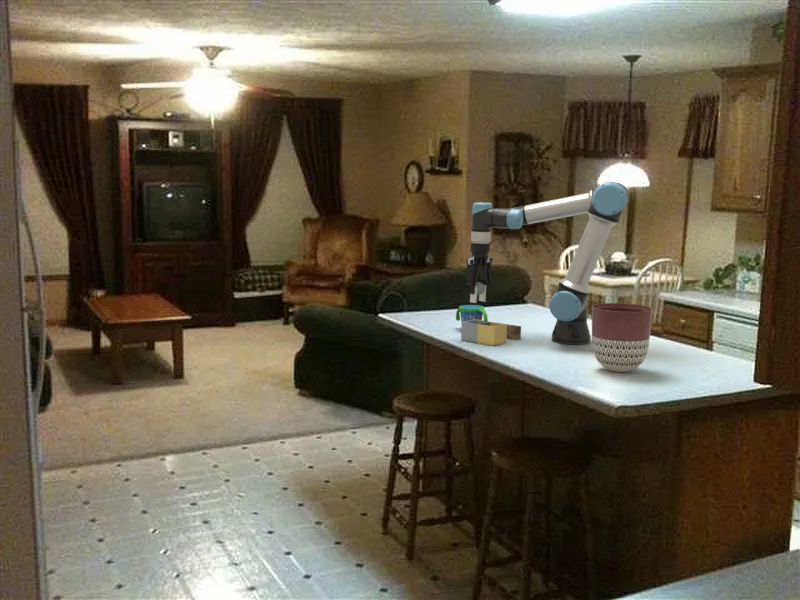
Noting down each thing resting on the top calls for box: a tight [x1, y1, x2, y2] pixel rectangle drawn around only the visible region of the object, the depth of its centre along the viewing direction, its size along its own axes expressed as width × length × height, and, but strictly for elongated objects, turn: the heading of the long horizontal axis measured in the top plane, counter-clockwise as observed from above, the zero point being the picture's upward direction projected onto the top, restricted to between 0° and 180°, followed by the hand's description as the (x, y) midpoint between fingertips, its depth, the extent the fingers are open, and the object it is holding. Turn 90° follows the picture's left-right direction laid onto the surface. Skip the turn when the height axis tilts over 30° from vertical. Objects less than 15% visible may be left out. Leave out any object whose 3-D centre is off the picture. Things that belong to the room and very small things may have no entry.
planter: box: [591, 302, 654, 373], centre depth 274 cm, size 20×20×21 cm
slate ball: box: [476, 281, 485, 296], centre depth 323 cm, size 5×5×5 cm
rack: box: [500, 322, 522, 341], centre depth 333 cm, size 12×4×5 cm, turn 47°
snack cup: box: [455, 304, 489, 323], centre depth 347 cm, size 16×10×10 cm
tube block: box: [460, 319, 508, 347], centre depth 322 cm, size 16×8×8 cm, turn 47°
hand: (477, 301), depth 324 cm, fingers closed on slate ball, 5 cm apart
